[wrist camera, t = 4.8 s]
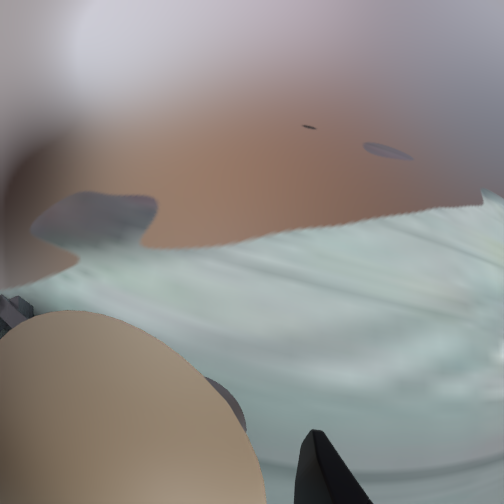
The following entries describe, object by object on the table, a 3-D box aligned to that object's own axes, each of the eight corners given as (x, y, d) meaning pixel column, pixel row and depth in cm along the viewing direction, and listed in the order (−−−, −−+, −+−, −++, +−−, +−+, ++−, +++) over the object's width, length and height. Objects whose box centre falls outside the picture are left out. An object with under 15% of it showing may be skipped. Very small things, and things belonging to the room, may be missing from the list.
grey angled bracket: (109, 383, 13) (86, 376, 11) (-12, 407, 10) (-39, 401, 7) (88, 285, 17) (68, 263, 14) (-21, 327, 13) (-44, 312, 10)
